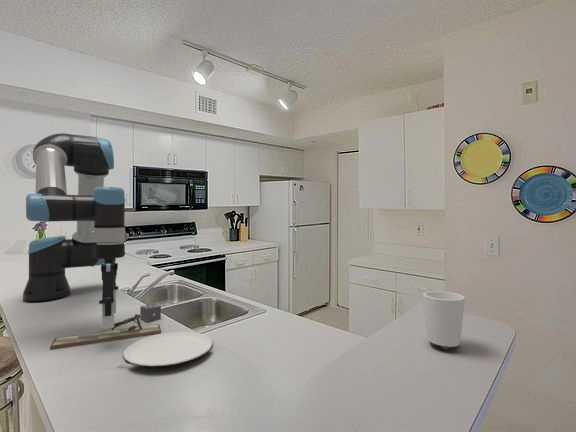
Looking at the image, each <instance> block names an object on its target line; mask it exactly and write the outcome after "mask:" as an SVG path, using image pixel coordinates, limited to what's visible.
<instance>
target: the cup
mask: <svg viewBox="0 0 576 432" xmlns="http://www.w3.org/2000/svg"><path fill="white" fill-rule="evenodd" d="M422 299H423V300H422V301H423V308H424V317H425V318H424V319H425V328H426V337H427V340H428V343H429V344H430V346H433V347H436V346H439V347H440V348H441V349H443V350H449V348H452V349H459V348H460V346H461V339H462V332H463V331H462V330H463V320H464V310H465V301H466V297H465V296H464V295H462V294H460V293H456V292H452V291H451V292H450V291H442V290H441V291H440V290H439V291H438V290H432V291H426V292H423V293H422Z"/></svg>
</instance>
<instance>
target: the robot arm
mask: <svg viewBox="0 0 576 432" xmlns="http://www.w3.org/2000/svg"><path fill="white" fill-rule="evenodd" d="M32 161H33V162H34V164H35V193H28V194H26V198H25V216H26V219H27V220H28V221H30V222H43V223H47V222H76V231H75V232H74V233H73V234H72V236H71V239H70V238H68V239H67V238H66V236H64V235H59V236H58V235H57V236H51V237H50V236H49V237H43V238H38V239H33V240H31V241H30V242H29V244H28V252H27V254H28V279H27V281H26V285H25V288H24V289H23V293H22V300H24V301H27V302H28V301H29V302H38V301H39V302H40V301H48V300H55V299H60V298H64V297H67V296H70V295H71V286H70V284H69V281H68V278H67V277H66V269H72V268H85V267H87V268H88V267H96V266H100V272H101V281H102V288H101V289H102V292H101V294H102V295H101V296H102V297H101V300H99V301H98V304H99V305H101V309H102V310H101V320H102V321H101V322H102V323H101V324H102V325H101V328H102V330H105V329H111V328H113V327H114V323H115V314H116V313H117V291H118V290H119V286H118V285H117V283H116V282H117V281H116V280H117V275H118V267H119V264H118V262H116V261H117V260H116V259H119V258H124V257H125V256H126V251H125V250H126V249H125V248H126V247H125V245H126V244H124V242H125V241H126V227H125V223H126V222H125V210H126V207H125V206H126V197H125V190H124V188H122V187H116V186H104V185H105V183H104V182H105V177H107V176H108V175H109V172H110V170H114V168H115V158H114V149H113V145H112V142H111V141H110V140H109V139H107V138H102V137H98V136H91V135H82V134H71V133H64V132H63V133H54V134H50V135H48V136H46V137H43V138H42V139H40V140H39V141H38V142H37V143H36V144H35V145H34V147H33V149H32ZM65 167H73V172H74V173H75V174H76V175H77V176H78V179H77V181H78V182H77V194H68V190H67V178H66V168H65Z"/></svg>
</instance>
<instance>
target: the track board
mask: <svg viewBox="0 0 576 432" xmlns="http://www.w3.org/2000/svg"><path fill="white" fill-rule="evenodd" d="M128 328H129V327H126V328H119V329H118V328H117V329H114V330H113V331H112V329H111V330H104V331H96V332H89V333H82V334H75V335H74V334H73V335H67V336H61V337H60V336H59V337H58V336H57V337H55V338H54V339H53V340H52V343H51V344H50V346H49V350H51V351H52V350H58V349H64V348H65V349H66V348H69V347H71V348H72V347H78V346H83V345H91V344H98V343H104V342H109V341H110V342H111V341H117V340H125V339H126V340H127V339H131V338H139V337H145V336H153V335H158V334H162V329H161V325H160V323H157V324H148V325H141V328H142V329H140V328H139V326H138V327H137V328H135V330H134V329H133V330H131V331H130V330H128Z"/></svg>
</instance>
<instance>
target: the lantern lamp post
mask: <svg viewBox="0 0 576 432" xmlns="http://www.w3.org/2000/svg"><path fill="white" fill-rule="evenodd" d="M140 317H142V315H140V314H136V313H135V314H134V316H132V317H129V318H126V319H124V320H122V321H119V322H114V327H113V328H110V329H111V330H112V331H113V330H115V329H116V328H119V327H120V326H123V325H127V324H129V323H131V322H134V323H135V324H137V325H132V326H129V327H127V328H128V330H130V331H131V330H133V329H134V330H135V328H137V327H139V328H140V329H142V328H141V326H142V324H141V321H140Z"/></svg>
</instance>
